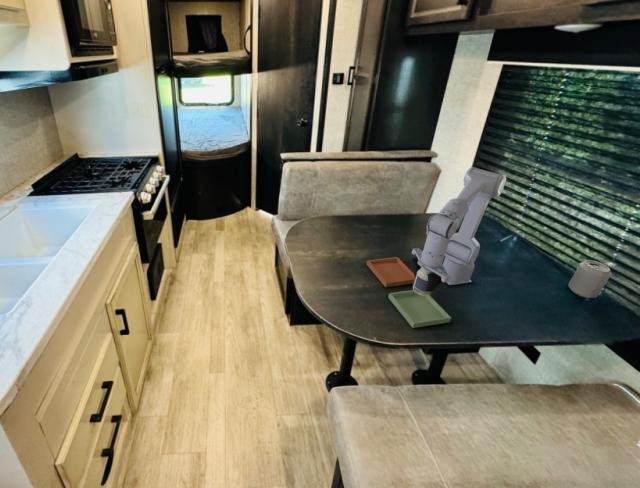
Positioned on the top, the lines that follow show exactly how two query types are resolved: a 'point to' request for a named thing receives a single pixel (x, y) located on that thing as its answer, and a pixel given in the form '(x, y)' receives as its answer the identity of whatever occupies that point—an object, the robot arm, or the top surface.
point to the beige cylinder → (589, 279)
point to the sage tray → (419, 309)
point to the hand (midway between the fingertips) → (423, 284)
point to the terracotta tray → (391, 271)
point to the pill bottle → (422, 282)
